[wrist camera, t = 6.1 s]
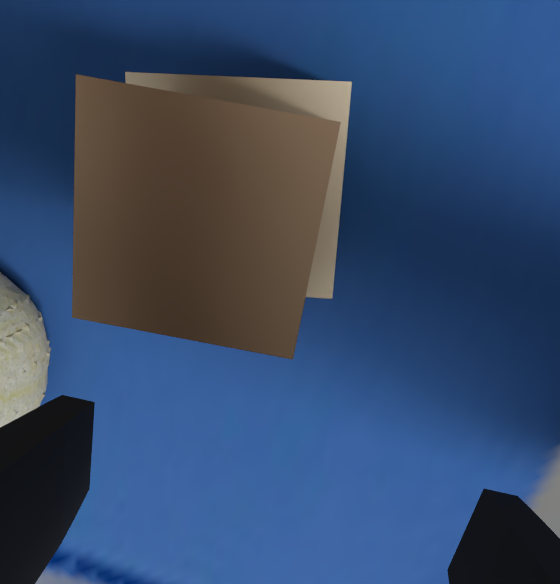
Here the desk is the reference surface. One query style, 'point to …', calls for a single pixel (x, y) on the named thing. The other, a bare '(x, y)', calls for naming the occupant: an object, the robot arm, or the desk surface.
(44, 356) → the sea urchin shell
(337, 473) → the desk surface
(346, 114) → the beech base
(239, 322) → the walnut block
